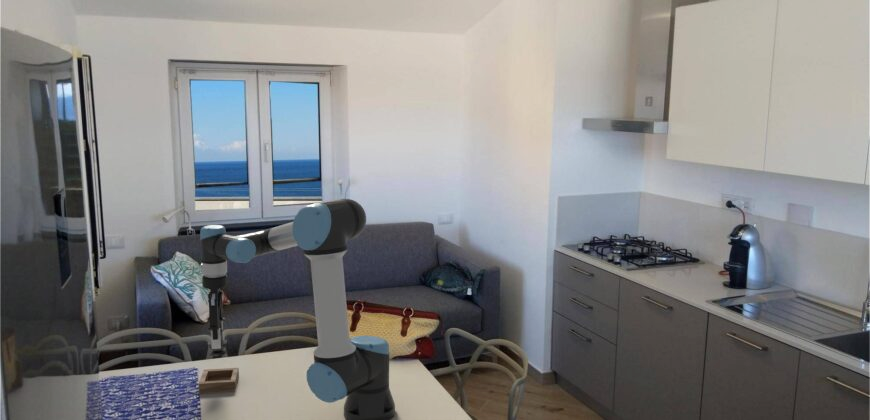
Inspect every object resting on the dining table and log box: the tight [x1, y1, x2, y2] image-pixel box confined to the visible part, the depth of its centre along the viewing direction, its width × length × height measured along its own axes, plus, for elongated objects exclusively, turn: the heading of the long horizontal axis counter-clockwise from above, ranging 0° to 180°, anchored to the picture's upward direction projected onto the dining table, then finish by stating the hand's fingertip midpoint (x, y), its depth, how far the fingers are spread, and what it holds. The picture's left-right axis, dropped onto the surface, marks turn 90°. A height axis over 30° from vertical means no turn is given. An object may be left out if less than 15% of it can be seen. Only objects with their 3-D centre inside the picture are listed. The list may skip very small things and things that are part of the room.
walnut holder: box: [198, 367, 240, 395], centre depth 213 cm, size 11×11×3 cm
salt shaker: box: [207, 320, 228, 357], centre depth 211 cm, size 6×6×12 cm
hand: (217, 344), depth 211 cm, fingers closed on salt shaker, 6 cm apart
